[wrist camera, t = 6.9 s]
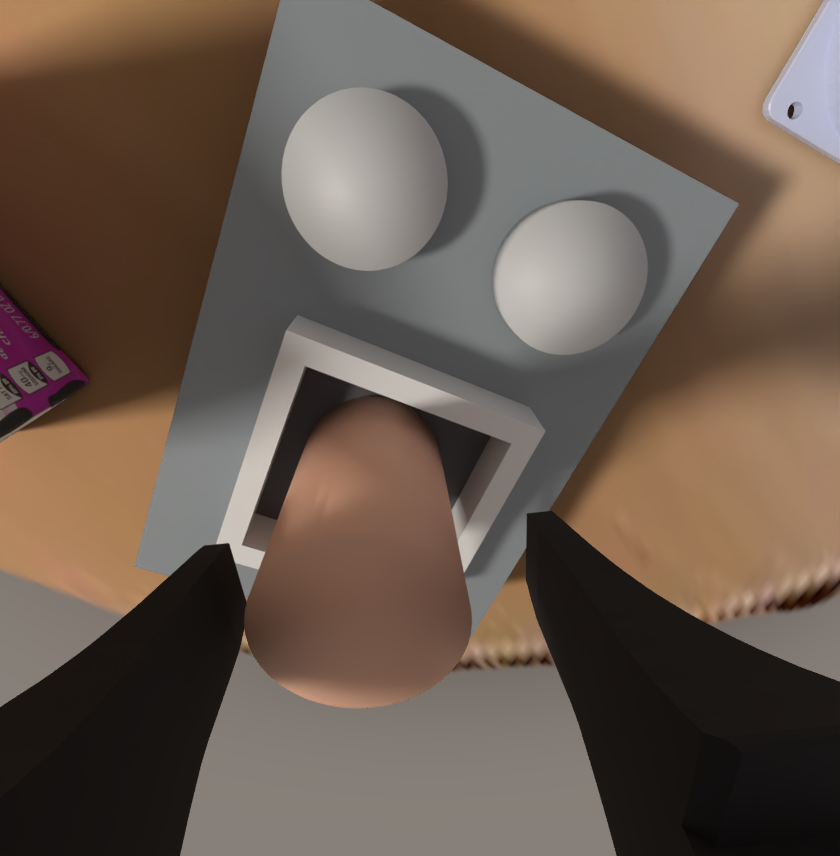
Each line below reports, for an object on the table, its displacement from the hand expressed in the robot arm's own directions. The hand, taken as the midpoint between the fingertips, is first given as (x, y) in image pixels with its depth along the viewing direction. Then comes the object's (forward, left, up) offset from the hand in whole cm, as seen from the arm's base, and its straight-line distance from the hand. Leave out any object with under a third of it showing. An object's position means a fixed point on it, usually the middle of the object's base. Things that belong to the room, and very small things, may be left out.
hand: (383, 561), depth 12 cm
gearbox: (0, -1, -10) cm, 11 cm away
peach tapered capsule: (0, +1, -6) cm, 6 cm away
